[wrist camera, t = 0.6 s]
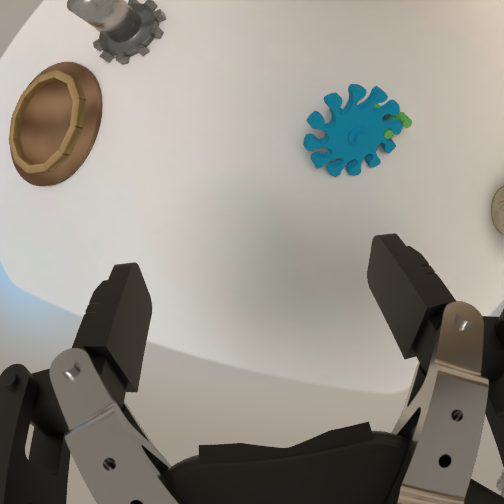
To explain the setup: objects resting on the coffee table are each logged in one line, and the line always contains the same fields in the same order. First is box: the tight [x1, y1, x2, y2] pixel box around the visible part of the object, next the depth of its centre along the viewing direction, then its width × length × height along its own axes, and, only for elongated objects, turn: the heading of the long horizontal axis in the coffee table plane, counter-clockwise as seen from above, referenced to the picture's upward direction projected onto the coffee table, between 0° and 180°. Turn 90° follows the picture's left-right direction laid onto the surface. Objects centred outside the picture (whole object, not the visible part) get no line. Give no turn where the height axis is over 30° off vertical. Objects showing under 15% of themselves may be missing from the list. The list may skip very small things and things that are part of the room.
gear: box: [303, 84, 412, 177], centre depth 27 cm, size 11×6×10 cm
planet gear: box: [67, 0, 166, 64], centre depth 23 cm, size 9×9×11 cm
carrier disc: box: [9, 62, 102, 186], centre depth 31 cm, size 17×17×3 cm
